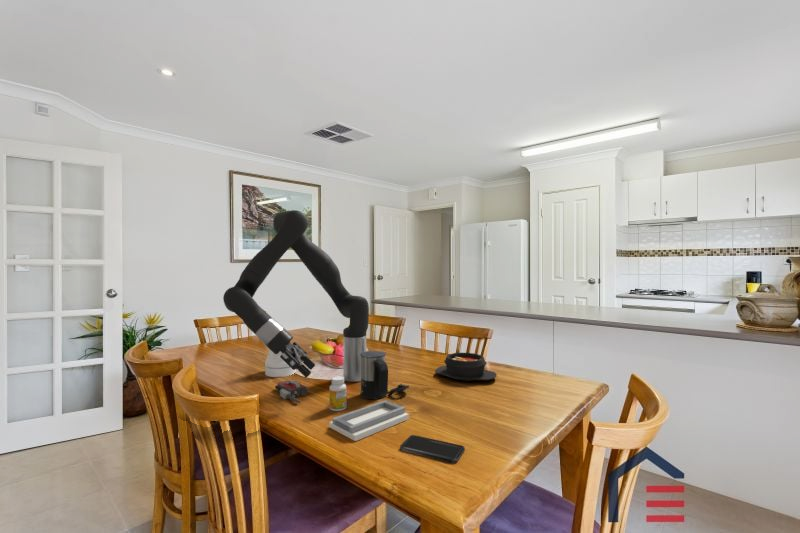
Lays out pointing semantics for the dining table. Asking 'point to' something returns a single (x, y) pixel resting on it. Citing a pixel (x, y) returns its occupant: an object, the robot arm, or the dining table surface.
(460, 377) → the casserole
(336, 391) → the supplement bottle
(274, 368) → the honey pot
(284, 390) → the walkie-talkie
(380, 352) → the milk frother
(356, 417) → the board
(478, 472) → the dining table surface
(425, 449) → the phone
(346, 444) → the dining table surface
